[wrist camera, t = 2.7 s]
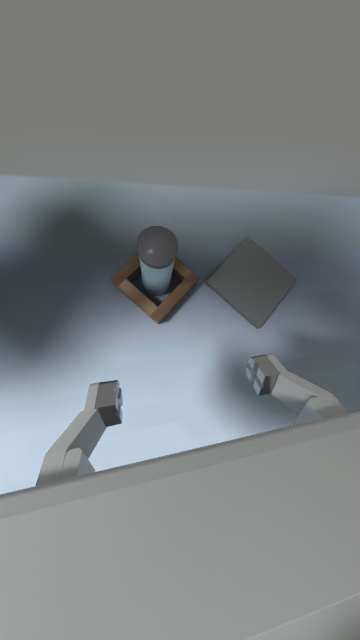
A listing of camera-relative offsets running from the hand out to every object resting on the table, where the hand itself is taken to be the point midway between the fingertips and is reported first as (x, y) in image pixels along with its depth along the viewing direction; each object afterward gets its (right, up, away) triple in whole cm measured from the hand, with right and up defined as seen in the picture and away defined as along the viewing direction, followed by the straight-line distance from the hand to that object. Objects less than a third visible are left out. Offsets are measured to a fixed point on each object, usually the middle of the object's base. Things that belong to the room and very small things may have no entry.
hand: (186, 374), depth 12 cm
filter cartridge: (-4, +9, +18) cm, 21 cm away
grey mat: (+11, +10, +21) cm, 25 cm away
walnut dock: (-4, +9, +18) cm, 21 cm away
